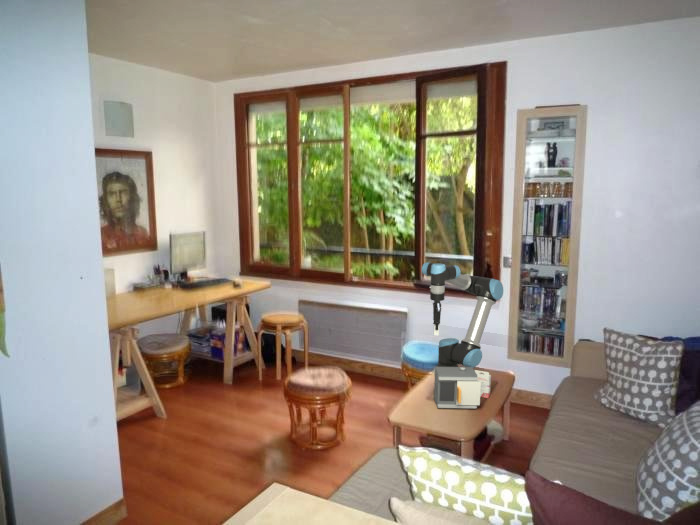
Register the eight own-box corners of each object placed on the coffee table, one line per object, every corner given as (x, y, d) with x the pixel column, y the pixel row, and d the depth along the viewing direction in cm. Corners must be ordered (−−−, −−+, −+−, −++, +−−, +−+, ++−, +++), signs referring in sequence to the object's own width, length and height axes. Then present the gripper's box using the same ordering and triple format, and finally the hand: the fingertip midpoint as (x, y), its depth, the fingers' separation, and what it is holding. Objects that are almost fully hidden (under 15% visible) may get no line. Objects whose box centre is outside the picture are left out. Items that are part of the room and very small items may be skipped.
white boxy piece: (456, 404, 262) (457, 380, 260) (479, 404, 262) (480, 380, 260) (458, 408, 256) (459, 384, 254) (481, 409, 256) (483, 384, 254)
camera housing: (433, 398, 275) (435, 364, 272) (470, 398, 274) (472, 365, 271) (437, 409, 261) (439, 374, 258) (476, 410, 260) (478, 374, 258)
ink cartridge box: (490, 395, 279) (491, 369, 277) (488, 398, 275) (489, 372, 273) (474, 392, 283) (476, 367, 281) (472, 395, 279) (473, 370, 277)
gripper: (428, 289, 277) (427, 331, 281) (432, 295, 264) (430, 338, 268) (442, 290, 277) (441, 331, 281) (446, 295, 264) (445, 338, 268)
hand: (436, 334), depth 274 cm, fingers closed
